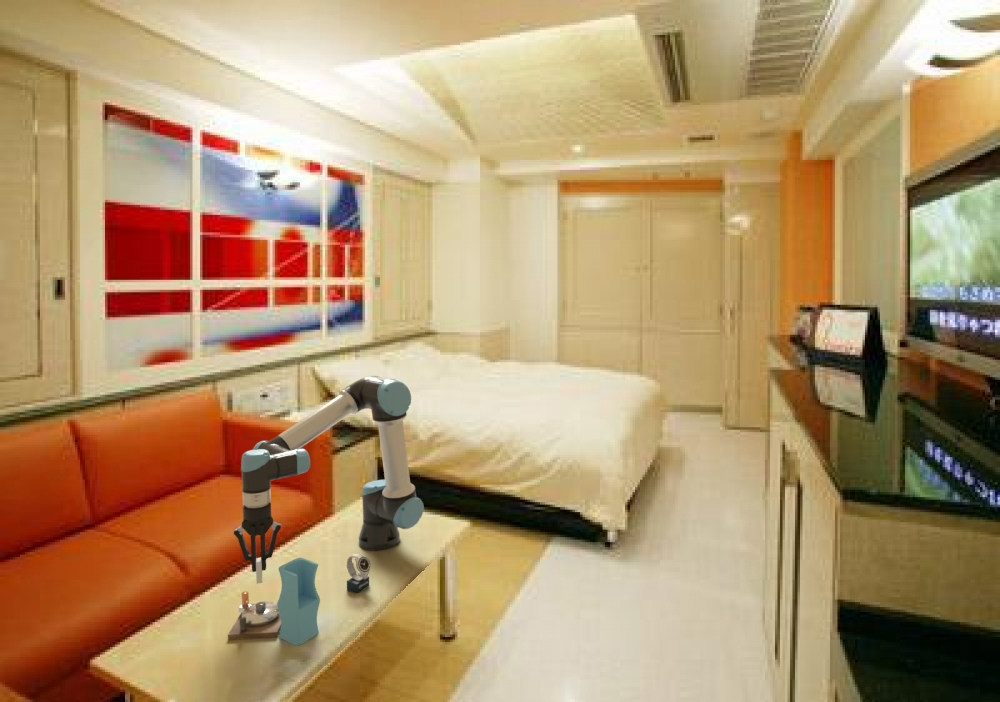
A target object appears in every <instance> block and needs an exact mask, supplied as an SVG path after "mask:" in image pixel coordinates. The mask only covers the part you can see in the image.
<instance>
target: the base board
mask: <svg viewBox="0 0 1000 702" xmlns="http://www.w3.org/2000/svg"><path fill="white" fill-rule="evenodd" d="M250 604H251V605H253V604H254V603H250ZM280 630H281V617H280V614H279V616H278V617H277V618H276V619H275V620H274V621H272V622H270V623H268V624H265V625H261V626H247V625H246V617H242V613H241V612H240V613H239V616H238V617H237V619H236V621H234V623H233V625H232V627H231V629H230V630H229V632H228V634H227V640H228V641H232V640H233V641H234V640H235V641H236V640H249V639H250V640H251V639H270V638H271V639H273V638H279V634H280Z"/></svg>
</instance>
